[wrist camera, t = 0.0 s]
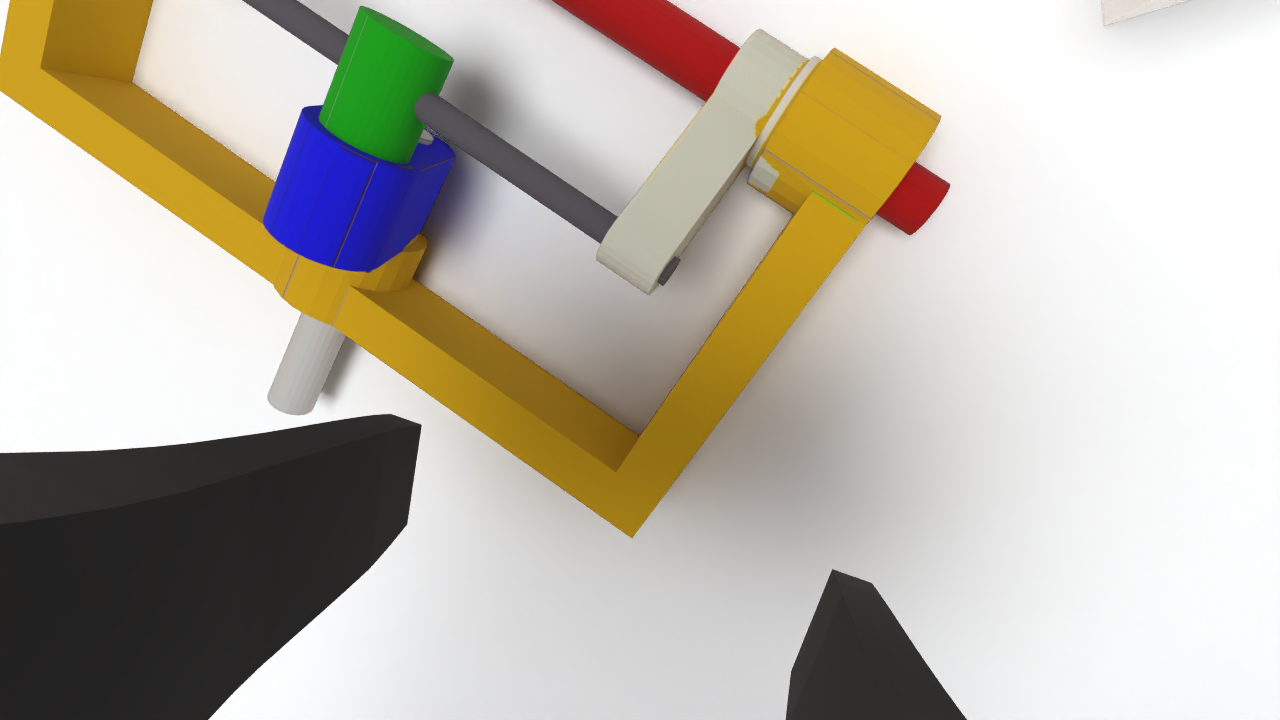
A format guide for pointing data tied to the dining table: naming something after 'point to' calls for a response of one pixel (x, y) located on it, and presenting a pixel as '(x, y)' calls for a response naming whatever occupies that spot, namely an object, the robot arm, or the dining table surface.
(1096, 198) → the dining table surface
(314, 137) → the multicolour toy assembly
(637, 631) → the dining table surface
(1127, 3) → the white block
